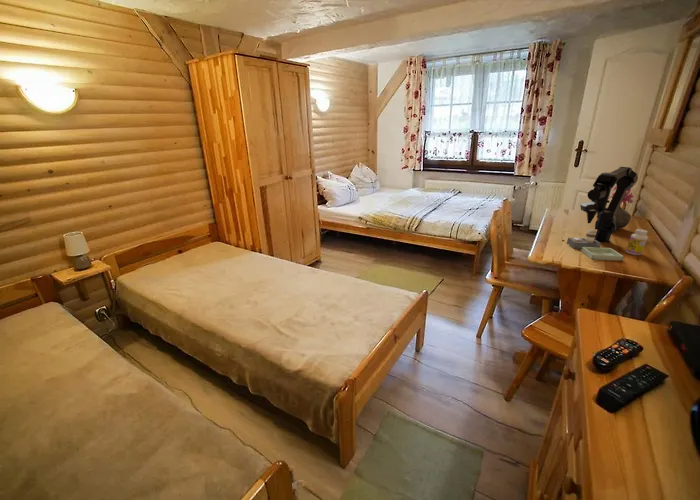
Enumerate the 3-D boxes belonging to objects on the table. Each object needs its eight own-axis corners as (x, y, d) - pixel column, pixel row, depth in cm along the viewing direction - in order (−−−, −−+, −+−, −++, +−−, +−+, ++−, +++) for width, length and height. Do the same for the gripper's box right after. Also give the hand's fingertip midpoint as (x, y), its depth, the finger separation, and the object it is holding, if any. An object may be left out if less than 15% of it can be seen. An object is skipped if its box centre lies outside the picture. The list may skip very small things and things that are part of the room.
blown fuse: (589, 245, 180) (593, 230, 176) (593, 248, 176) (598, 232, 172) (581, 245, 180) (585, 230, 177) (585, 247, 177) (589, 232, 173)
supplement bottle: (622, 250, 172) (630, 228, 167) (634, 250, 172) (643, 228, 167) (631, 255, 166) (640, 232, 161) (644, 255, 166) (653, 232, 161)
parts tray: (609, 252, 170) (610, 248, 169) (622, 260, 160) (623, 256, 159) (580, 251, 172) (582, 246, 171) (591, 259, 162) (593, 255, 161)
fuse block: (591, 244, 181) (593, 237, 180) (599, 249, 174) (601, 242, 172) (566, 243, 183) (568, 236, 181) (573, 248, 176) (575, 241, 174)
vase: (630, 233, 196) (648, 185, 184) (597, 231, 201) (612, 183, 190) (619, 225, 211) (634, 180, 199) (588, 223, 216) (601, 178, 204)
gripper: (576, 193, 177) (569, 220, 183) (594, 201, 160) (586, 231, 166) (598, 193, 176) (590, 220, 182) (619, 202, 159) (609, 231, 165)
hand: (593, 225), depth 174 cm, fingers open, 9 cm apart
